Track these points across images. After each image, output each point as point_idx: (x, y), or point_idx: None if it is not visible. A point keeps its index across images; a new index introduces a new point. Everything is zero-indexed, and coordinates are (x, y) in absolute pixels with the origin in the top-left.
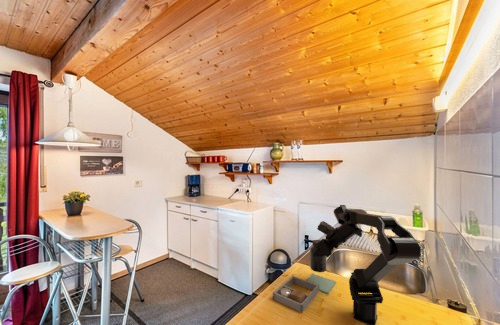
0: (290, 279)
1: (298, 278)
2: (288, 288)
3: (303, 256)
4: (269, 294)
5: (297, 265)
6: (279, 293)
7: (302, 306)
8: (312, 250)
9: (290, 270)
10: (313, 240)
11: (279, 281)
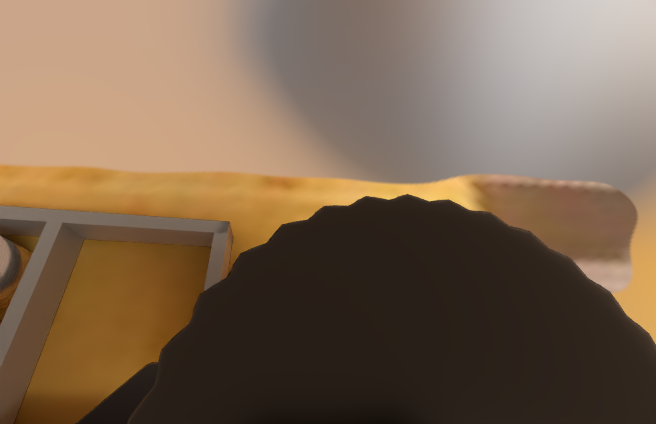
0: (168, 227)
1: (214, 266)
2: (31, 260)
3: (558, 183)
4: (10, 185)
5: (435, 193)
6: (4, 229)
7: None
8: (183, 328)
9: (351, 182)
10: (414, 210)
11: (189, 178)
